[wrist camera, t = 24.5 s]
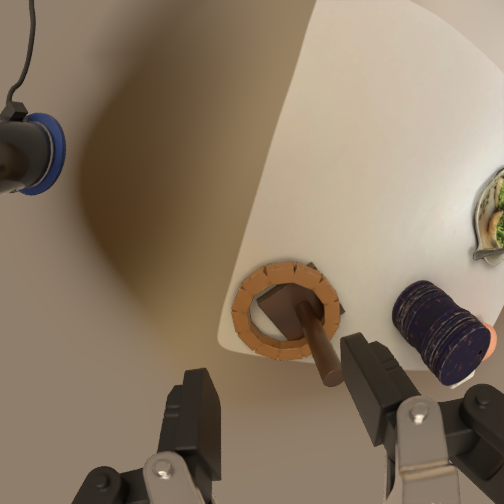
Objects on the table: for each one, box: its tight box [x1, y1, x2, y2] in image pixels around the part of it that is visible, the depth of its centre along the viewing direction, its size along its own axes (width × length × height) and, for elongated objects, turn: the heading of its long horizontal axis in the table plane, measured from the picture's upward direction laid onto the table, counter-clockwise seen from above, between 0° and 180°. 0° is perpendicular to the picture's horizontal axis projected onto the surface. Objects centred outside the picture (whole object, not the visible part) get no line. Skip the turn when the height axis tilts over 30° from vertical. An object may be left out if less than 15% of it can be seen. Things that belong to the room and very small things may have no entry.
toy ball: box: [482, 323, 497, 360], centre depth 43 cm, size 8×8×8 cm
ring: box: [231, 262, 340, 360], centre depth 38 cm, size 14×14×2 cm
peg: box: [257, 262, 345, 387], centre depth 33 cm, size 9×9×16 cm
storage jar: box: [392, 280, 491, 386], centre depth 36 cm, size 10×10×15 cm
